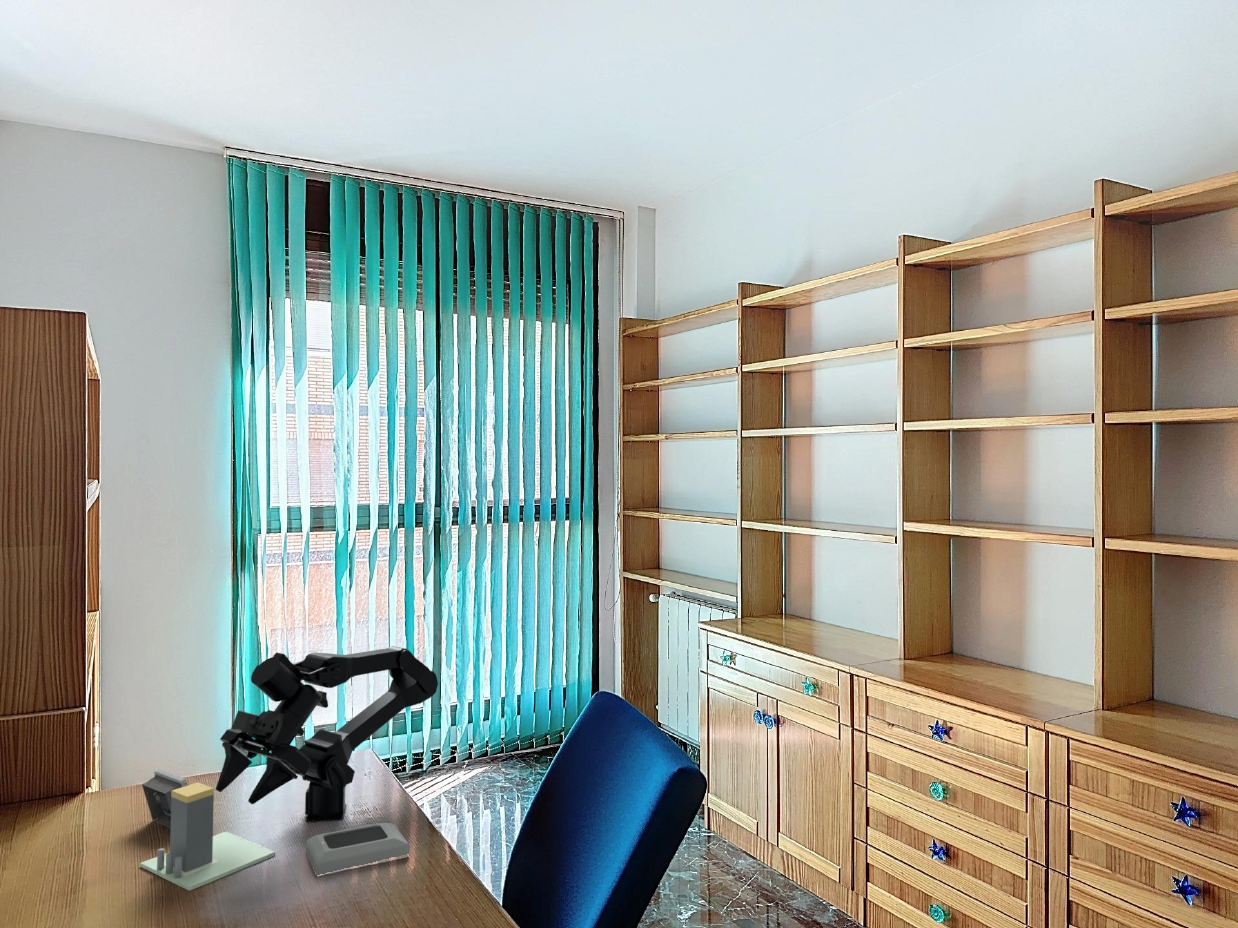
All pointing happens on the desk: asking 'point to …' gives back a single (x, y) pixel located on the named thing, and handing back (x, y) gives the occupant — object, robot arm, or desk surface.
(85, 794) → the desk surface
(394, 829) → the grey beveled box
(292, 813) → the desk surface
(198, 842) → the plug block
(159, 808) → the electrical switch
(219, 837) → the board
